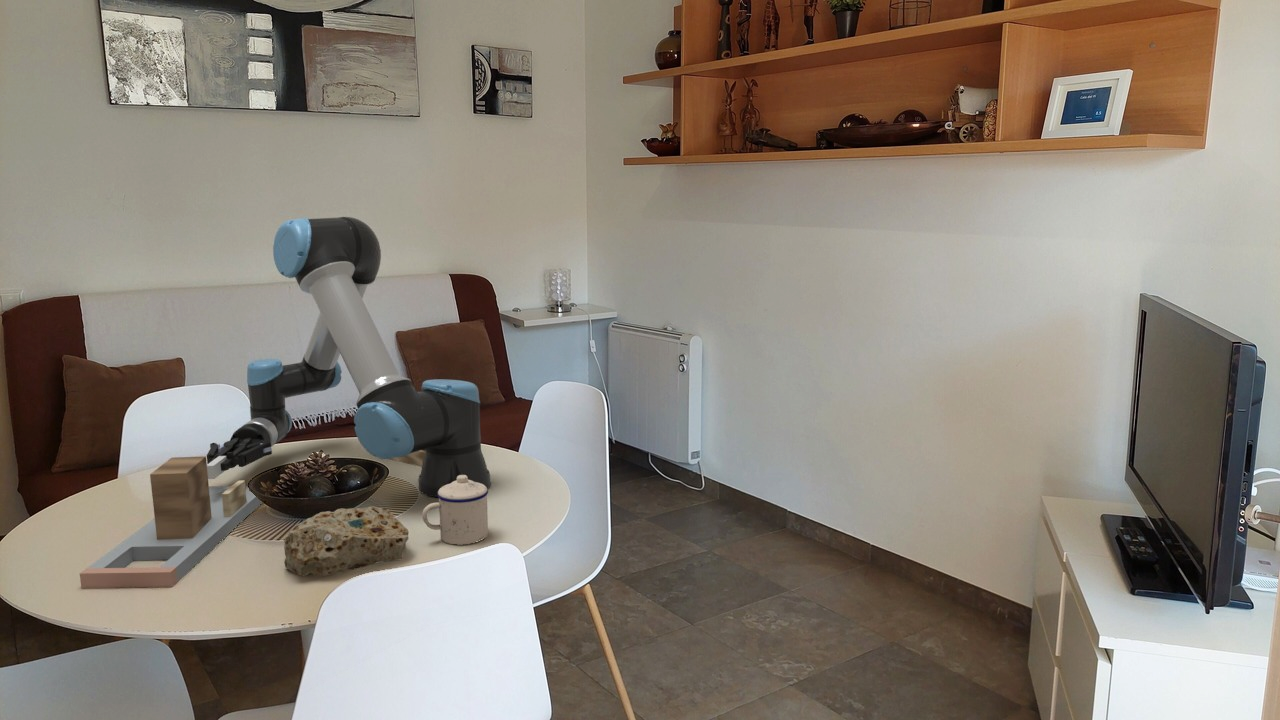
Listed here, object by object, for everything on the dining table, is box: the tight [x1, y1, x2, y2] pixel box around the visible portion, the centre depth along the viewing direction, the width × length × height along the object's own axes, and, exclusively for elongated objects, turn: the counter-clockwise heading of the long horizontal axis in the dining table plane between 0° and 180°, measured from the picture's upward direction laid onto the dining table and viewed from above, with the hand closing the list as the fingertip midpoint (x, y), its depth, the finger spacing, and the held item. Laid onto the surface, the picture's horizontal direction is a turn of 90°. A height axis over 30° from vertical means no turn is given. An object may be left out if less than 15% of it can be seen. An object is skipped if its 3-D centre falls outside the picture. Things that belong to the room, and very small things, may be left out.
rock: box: [283, 506, 410, 577], centre depth 159 cm, size 21×14×10 cm
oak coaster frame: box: [390, 450, 425, 467], centre depth 221 cm, size 14×16×4 cm
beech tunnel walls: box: [222, 480, 247, 517], centre depth 176 cm, size 8×13×4 cm, turn 92°
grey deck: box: [79, 485, 263, 589], centre depth 170 cm, size 43×14×2 cm, turn 2°
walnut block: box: [149, 455, 212, 540], centre depth 166 cm, size 10×6×12 cm, turn 7°
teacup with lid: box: [422, 475, 489, 546], centre depth 168 cm, size 12×9×12 cm
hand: (210, 472), depth 180 cm, fingers closed
